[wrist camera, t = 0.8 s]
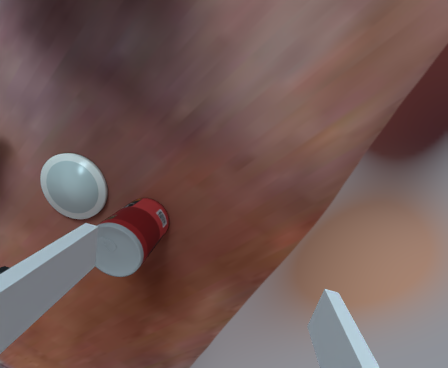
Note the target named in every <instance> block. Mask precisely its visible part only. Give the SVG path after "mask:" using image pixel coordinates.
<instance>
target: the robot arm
mask: <svg viewBox="0 0 448 368" xmlns="http://www.w3.org/2000/svg"><path fill="white" fill-rule="evenodd" d="M97 238H98V226H95V225H91V224H88V223H85V224H83V225H81V226H80V227H78V228H76V229H75V230H73V231H71V232H70V233H68V234H66V235H65V236H63V237H61V238H60V239H58V240H56V241H55V242H53V243H51V244H50V245H48V246H46V247H45V248H43V249H41V250H40V251H38V252H36V253H35V254H33V255H31V256H30V257H28V258H26V259H25V260H23V261H21V262H20V263H18V264H16V265H15V266H13V267H11V268H9V267H6V266H4V267H1V268H0V354H1V353H2V352H3V351H4V350H5V349H6V348H7V347H8V346H9V345H10V344H11V343H12V342H14V341H15V340H16V339H17V338H18V337H19V336H20V335H21V334H22V333H23V332H24V331H26V330H27V329H28V328H29V327H30V326H31V325H32V324H33V323H34V322H35V321H36V320H37V319H39V318H40V317H41V316H42V315H43V314H44V313H45V312H46V311H47V310H48V309H49V308H50V307H52V306H53V305H54V304H55V303H56V302H57V301H58V300H59V299H60V298H61V297H62V296H63V295H65V294H66V293H67V292H68V291H69V290H70V289H71V288H72V287H73V286H74V285H75V284H77V283H78V282H79V281H80V280H81V279H82V278H83V277H84V276H85V275H86V274H87V273H88V272H90V271H91V270H92V269H93V268H94V267H95V262H96V250H97ZM308 330H309V333H310V337H311V340H312V343H313V347H314V350H315V353H316V357H317V360H318V363H319V366H320V368H379V366H378V364H377V362H376V360H375V358H374V357H373V355H372V353H371V351H370V349H369V347H368V346H367V344H366V342H365V340H364V338H363V337H362V335H361V333H360V331H359V329H358V327H357V326H356V324H355V322H354V320H353V319H352V317H351V315H350V313H349V311H348V309H347V308H346V306H345V304H344V302H343V300H342V298H341V297H340V295H339V293H338V292H334V291H330V290H327V289H324V292H323V294H322V296H321V298H320V300H319V302H318V305H317V307H316V309H315V311H314V314H313V315H312V318H311V320H310V322H309V324H308Z"/></svg>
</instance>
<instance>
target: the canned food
mask: <svg viewBox="0 0 448 368" xmlns="http://www.w3.org/2000/svg"><path fill="white" fill-rule="evenodd" d="M168 225H169V217H168V214H167V211H166V210H165V208H164V207H163V206H162V205H161V204H160V203H158V202H157V201H155V200H152V199H148V198H142V199H137V200H135V201H133V202H131V203H130V204H128V205H127V206H125V207H124V208H122V209H121V210H119V211H118V212H116V213H115V214H113V215H112V216H110V217H108V218H107V219H105V220H104V221H102V222H101V223H100V224H98V225H97V226H98V238H97V250H96V262H95V266H96V267H97V268H98V269H99V270H101V271H102V272H104V273H106V274H108V275H111V276H116V277H124V276H128V275H131V274H133V273H134V272H135V271H136V270H137V269H138V268H139V267H140V266H141V265H142V263H143V262H144V261H145V260H146V258H147V257H148V255H149V254H150V253H151V251H152V250H153V249H154V247H155V246H156V245H157V243H158V242H159V241H160V239H161V238H162V237H163V235H164V234H165V233H166V231H167V229H168Z"/></svg>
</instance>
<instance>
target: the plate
mask: <svg viewBox="0 0 448 368" xmlns="http://www.w3.org/2000/svg"><path fill="white" fill-rule="evenodd" d="M41 187H42V191H43V193H44V195H45V197H46V199H47V200H48V202H49V203H50V204H51V206H52V207H53V208H54V209H56V210H57V211H58V212H60V213H61V214H63V215H65V216H67V217H70V218H73V219H87V218H90V217H92V216H94V215H96V214H97V213H99V212H100V211H101V210H102V209H103V207H104V206H105V204H106V201H107V197H108V188H107V183H106V180H105V178H104V176H103V174H102V172H101V171H100V169H99V168H98V167H97V166H96V165H95V164H94V163H93V162H92V161H90V160H89V159H88V158H86V157H84V156H81V155H79V154H74V153H64V154H58V155H55V156H53V157H51V158H50V159H49V160H48V161H47V162H46V163H45V165H44V166H43V168H42V171H41Z"/></svg>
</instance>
